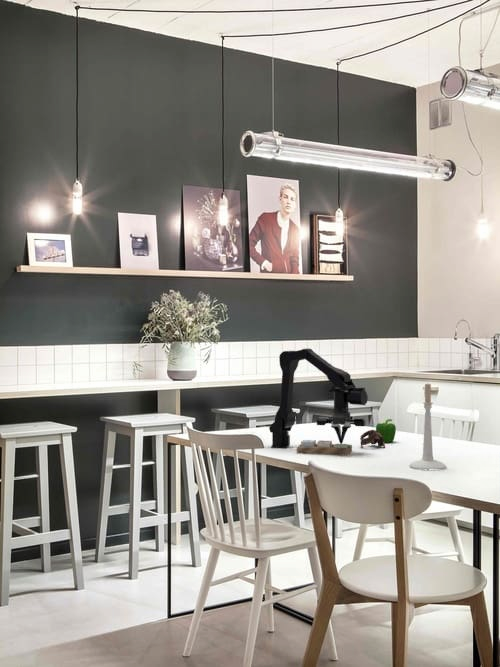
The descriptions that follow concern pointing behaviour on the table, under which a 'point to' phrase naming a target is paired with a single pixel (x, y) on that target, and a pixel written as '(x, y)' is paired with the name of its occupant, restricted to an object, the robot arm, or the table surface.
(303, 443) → the tile one
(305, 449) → the tile board
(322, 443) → the tile two
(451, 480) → the table surface
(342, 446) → the tile three
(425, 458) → the candlestick
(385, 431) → the bell pepper
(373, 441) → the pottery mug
